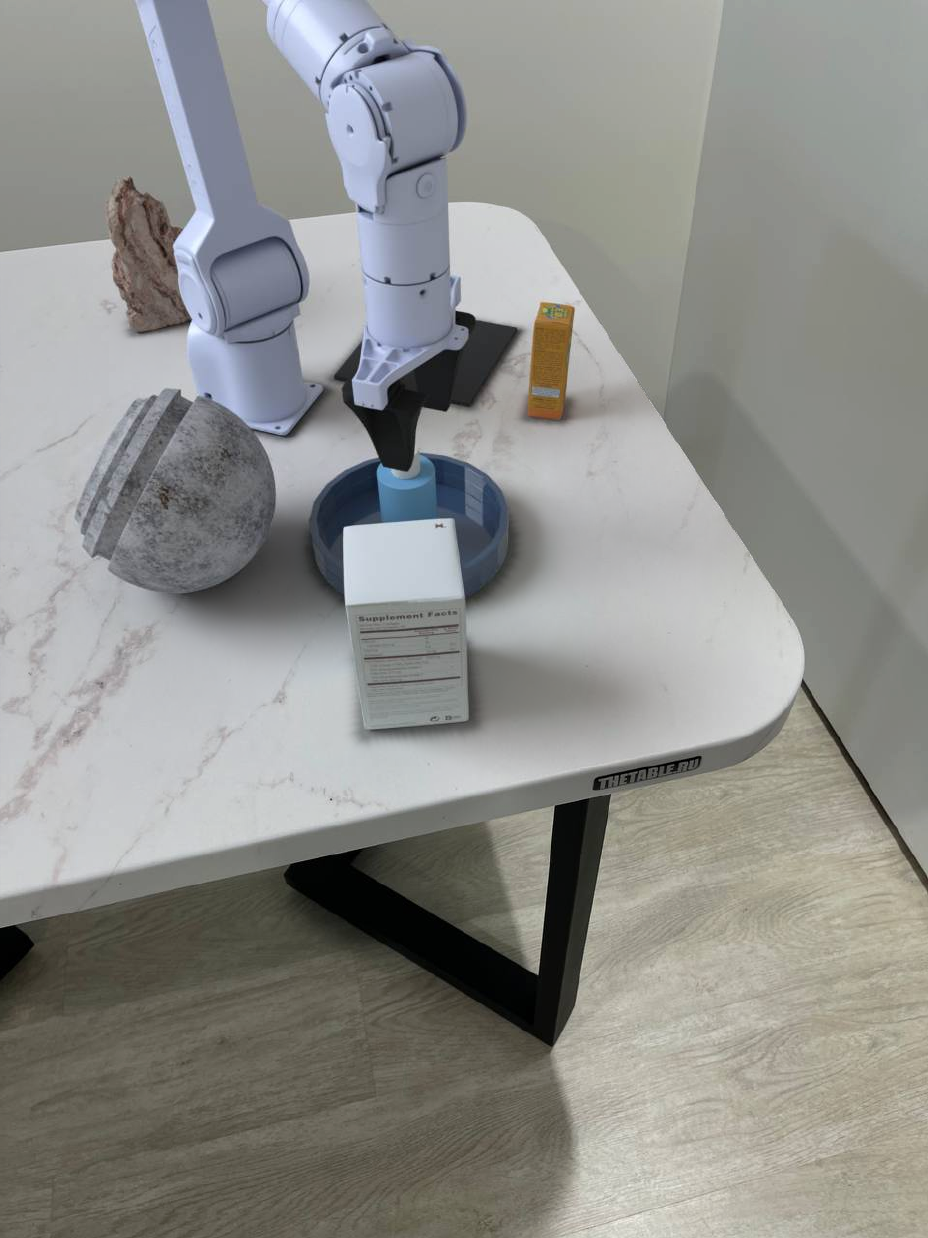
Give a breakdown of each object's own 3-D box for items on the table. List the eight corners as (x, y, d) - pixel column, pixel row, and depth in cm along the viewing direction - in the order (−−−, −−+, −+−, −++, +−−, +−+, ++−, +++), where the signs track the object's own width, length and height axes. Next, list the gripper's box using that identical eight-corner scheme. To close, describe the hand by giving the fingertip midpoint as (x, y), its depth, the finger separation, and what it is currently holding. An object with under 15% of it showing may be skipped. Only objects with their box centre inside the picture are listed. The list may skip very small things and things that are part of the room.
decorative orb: (145, 497, 86) (96, 342, 75) (310, 513, 85) (283, 356, 74) (72, 623, 76) (3, 465, 65) (257, 644, 75) (217, 485, 64)
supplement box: (563, 421, 93) (570, 323, 85) (526, 417, 93) (529, 320, 86) (568, 400, 95) (575, 303, 88) (532, 397, 95) (535, 300, 88)
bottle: (375, 550, 81) (364, 460, 74) (396, 516, 84) (388, 426, 77) (426, 563, 80) (420, 473, 73) (446, 527, 83) (442, 437, 76)
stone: (94, 202, 93) (204, 191, 95) (87, 163, 97) (192, 153, 100) (125, 337, 104) (223, 324, 107) (117, 296, 109) (211, 285, 111)
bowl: (280, 583, 79) (274, 555, 77) (363, 464, 89) (360, 436, 87) (467, 633, 75) (466, 605, 73) (533, 502, 85) (534, 474, 83)
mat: (334, 379, 98) (333, 375, 98) (391, 307, 107) (391, 304, 107) (469, 406, 95) (469, 403, 94) (517, 330, 103) (517, 327, 103)
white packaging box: (360, 652, 74) (341, 522, 65) (461, 644, 74) (457, 513, 65) (361, 733, 69) (341, 605, 60) (470, 725, 69) (467, 595, 60)
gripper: (421, 331, 60) (430, 507, 70) (500, 222, 69) (499, 392, 79) (313, 311, 61) (337, 486, 71) (405, 208, 71) (415, 375, 81)
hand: (416, 435), depth 75 cm, fingers open, 7 cm apart
